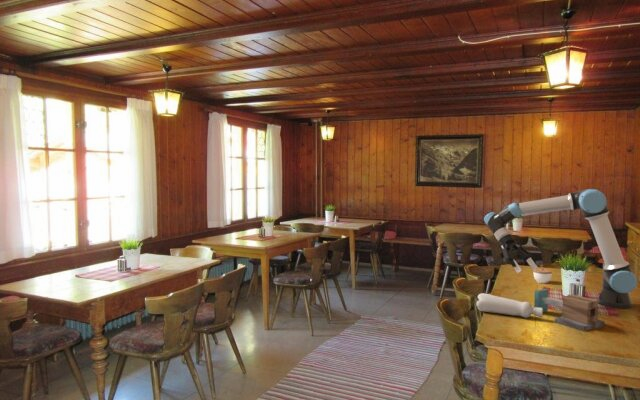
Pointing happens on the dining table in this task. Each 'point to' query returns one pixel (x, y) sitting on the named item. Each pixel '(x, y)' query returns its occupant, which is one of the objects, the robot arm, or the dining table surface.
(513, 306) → the bottle
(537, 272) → the lidded jar
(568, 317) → the bearing block
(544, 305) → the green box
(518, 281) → the dining table surface
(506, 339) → the dining table surface
